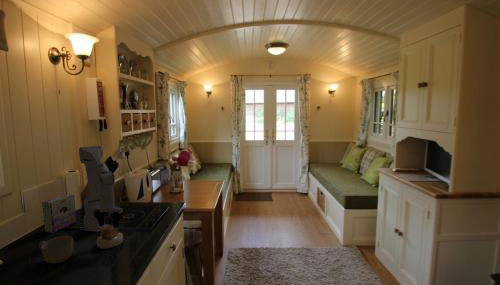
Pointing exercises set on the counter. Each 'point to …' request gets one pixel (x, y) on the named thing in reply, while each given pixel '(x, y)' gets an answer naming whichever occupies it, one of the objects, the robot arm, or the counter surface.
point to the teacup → (57, 249)
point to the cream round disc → (110, 241)
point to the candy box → (59, 213)
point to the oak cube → (109, 232)
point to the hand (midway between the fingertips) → (109, 226)
